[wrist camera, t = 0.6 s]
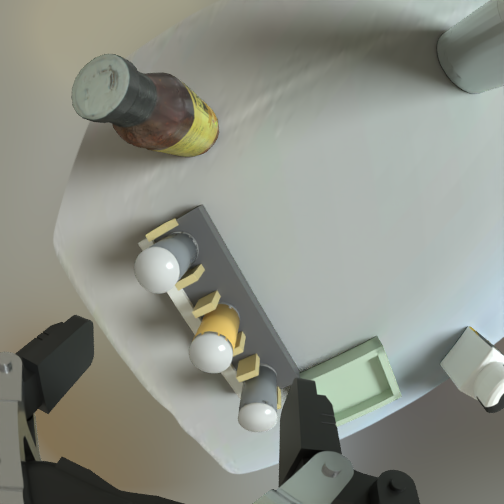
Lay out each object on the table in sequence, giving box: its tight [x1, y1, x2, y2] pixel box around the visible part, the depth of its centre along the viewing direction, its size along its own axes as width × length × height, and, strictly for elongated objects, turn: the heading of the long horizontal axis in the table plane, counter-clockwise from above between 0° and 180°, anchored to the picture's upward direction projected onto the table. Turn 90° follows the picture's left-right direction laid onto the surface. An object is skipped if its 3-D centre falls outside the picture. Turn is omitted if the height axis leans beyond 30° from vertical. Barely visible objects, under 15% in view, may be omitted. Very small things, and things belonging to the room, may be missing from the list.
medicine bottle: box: [440, 326, 504, 413], centre depth 32 cm, size 7×7×12 cm
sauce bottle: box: [72, 54, 219, 157], centre depth 24 cm, size 6×6×20 cm
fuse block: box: [138, 205, 300, 409], centre depth 35 cm, size 8×24×6 cm, turn 29°
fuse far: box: [238, 363, 277, 432], centre depth 33 cm, size 4×4×8 cm
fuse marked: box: [189, 302, 240, 373], centre depth 32 cm, size 4×4×8 cm
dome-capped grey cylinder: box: [134, 231, 199, 293], centre depth 30 cm, size 4×4×8 cm
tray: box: [299, 336, 402, 427], centre depth 38 cm, size 12×10×2 cm
